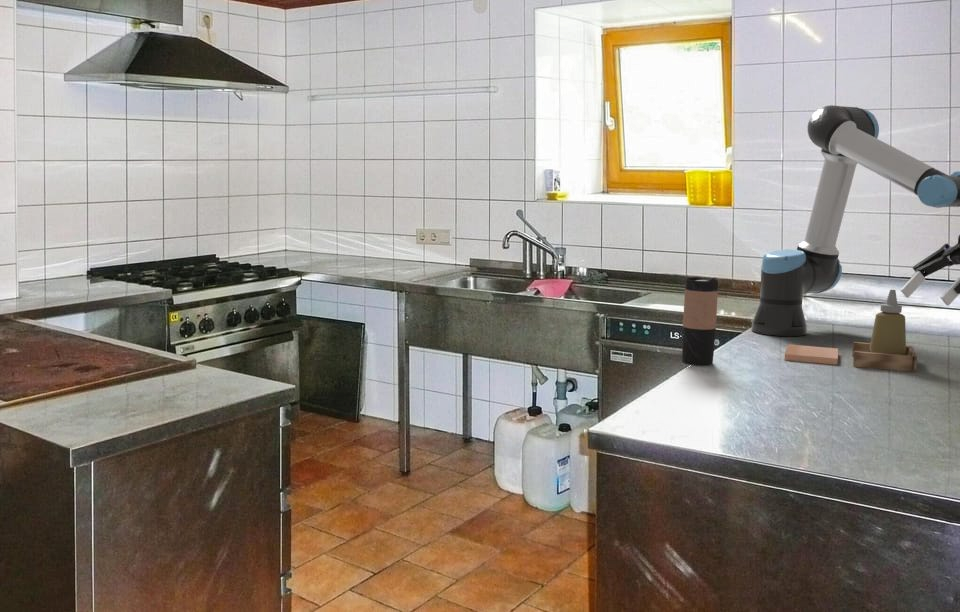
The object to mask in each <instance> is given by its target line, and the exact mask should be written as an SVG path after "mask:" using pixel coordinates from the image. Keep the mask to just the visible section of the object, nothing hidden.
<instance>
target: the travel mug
mask: <svg viewBox="0 0 960 612" xmlns="http://www.w3.org/2000/svg"><path fill="white" fill-rule="evenodd" d="M684 284H685V287H684V300H683V302H684V303H683V317H682V340H681V341H682V346H681V349H682V351H681V352H682V353H681V356H682V357H681V362H682V363H683V364H686V365H690V366H699V367H700V366H706V367H707V366H711V365H713V362H714V356H715V355H714V354H715V342H716V331H717V316H718V315H717V314H718V312H717V311H718V296H719V295H718V294H719V293H718V292H719V279H716V278H710V279H709V280H705V279H703V278H702V277H686V278H685V283H684Z"/></svg>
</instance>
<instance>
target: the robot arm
mask: <svg viewBox="0 0 960 612" xmlns="http://www.w3.org/2000/svg"><path fill="white" fill-rule="evenodd" d="M879 126H880V124H879V121H878V119H876V116H875V114H873V113H872V112H871V111H869V110H868V109H864V108H860V107H858V106H856V107H855V106H846V105H845V106H842V105H832V104H831V105H825V106H823V107H820V108H819V109H818V110H817V109H816V110H815V111H814V112H813V114H812V115H811V116H810V118H809V121H808V123H807V134H808V137H809V140H810V142H812V143H813V144H814V145H815V146H817V147H818V148H820V149H821V150H820V153H821V154H822V156H823V158H824V162H823V165H822V169H821V173H820V178H819V182H818V185H817V190H816V193H815V197H814V201H813V205H812V209H811V213H810V216H809V217H810V218H809V222H808V226H807V229H806V233H805V238H804V240H803V241H801V242H799V243H798V244H797V247H796V249H778V250H771V251H768V252H766V253H765V254H763V257H762V261H761V262H762V263H761V266H760V269H761V270H760V276H761V277H760V288H759V289H760V290H759V291H760V292H759V305H758V307H757V309H756V311H755V314H754V316H753V320H752V322H751V331H752V332H754V333H758V334H762V335H768V336H769V335H770V336H779V337H798V336H800V337H801V336H805V335H807V332H808V331H807V330H808V325H807V321H806V318H805V313H804V310H803V297H804V295H807V294H808V295H809V294H821V293H824V292H828V291H830V290H831V289H833V288H835V287H836V286H837V284H838V283H839V282H840V280H841V277H842V273H843V266H842V265H841V261H840V259H839V256H840V251H839V250H838V248H837V241H838V236H839V233H840V230H841V229H840V228H841V226H842V225H841V224H842V222H843V217H844V214H845V209H846V205H847V202H848V198H849V195H850V191H851V187H852V185H853V184H852V183H853V179H854V175H855V171H856V167H857V165H860V166H862V167H864V168H866V169H867V170H870V171H871V172H873V173H875V174H877V175H879V176H881V177H882V178H884V179H886V180H888V181H889V182H892V183H893V184H895V185H897V186H899V187H900V188H902V189H905V190H907V191H908V192H910V193H912V194H914V195H915V196H917V197H918V199H919V201H920V202H921V203H922V204H923V205H925V206H927V207H932V208H937V209H939V208H952V207H953V208H956V207H957V208H960V170H959V171H958V170H957V171H954V172H953V173H949V174H947V173H945V172H942V171H940V170H938V169H936V168H935V167H933V166H931V165H929V164H927V163H925V162H923V161H922V160H919V159H917V158H916V157H913V156H911V155H910V154H908V153H906V152H904V151H902V150H901V149H898V148H896V147H894V146H892V145H890V144H888V143H886V142H885V141H882V140H881V139H878V137H879V133H880V127H879ZM957 237H958V238H957V243H956V244H955V245H953V246H951V245H949V243H945V244H943V245H942V246H941V247H940V248H939V249H937V250H936V251H934V252H933V253H931V254H930V255H928V256H926V257H925V258H923V259H922V260H920V261H919V262H918V263H916V264H914V265H913V266H912V269H913V271H914V273H913V274H912V276H911V277H910V278H909V279H908V281H907V282H906V283H905V284H904V285H903V286H902V287H901V289H899V291H900V292H901V293H902V294H903V295H904V297H905V298H908V299H909V298H910V297H911V295H913V293H914V292H915V291H916V290H917V289H918V288H919V287H920V286H921V285H922V284H923V283H924V281H926V277H928V276H929V275H932V274H933V273H935V272H938V271H939V270H942V269H944V268H946V267H952V266H955V265H956V266H958V265H960V234H959V235H958V236H957ZM948 257H949V258H948ZM959 295H960V277H957V278H956V279H955V280H954V281H953V283H952V284H950V286H949V287H948V288H947V289H946V290H945V292H943V293H942V295H941V296H940V297H939V298H940V299H941V300H942V302H943V303H944V304H945V305H946V306H950V305H951V304H952V303H953V302H954V301H955V299H956V298H957V297H958V296H959Z"/></svg>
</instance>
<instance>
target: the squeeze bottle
mask: <svg viewBox="0 0 960 612" xmlns="http://www.w3.org/2000/svg"><path fill="white" fill-rule="evenodd" d="M897 299H898V298H897V292H896V289H889V292H888V295H887V298H886V301H885V303H881V304H880V311H881V312H880V311H879V312H877V314H875V318H874V321H873V322H874V323H873V329H872V333H871V338H870V339H871V340H870V342H869V343H870V351H871V352H872V353H884V354H896V355H904V354H905V351H906V346H907V344H906V343H907V340H906V339H907V338H906V316H905V314H902V311H903V305H901V304H898V300H897Z"/></svg>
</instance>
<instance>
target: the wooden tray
mask: <svg viewBox="0 0 960 612" xmlns="http://www.w3.org/2000/svg"><path fill="white" fill-rule="evenodd" d="M870 343H871V342H860V341H853V348H852V357H853V360H852V361H853V363H852V366H853V367H857V368H867V369H880V370H891V371H900V372H901V371H903V372H912V373H916V372H917V366H918V365H917V364H918V356H917V352H916V351H915V349H914V346H912V345H911V346H909V345H906V351H905V354H904V355H896V354H884V353H872V352H871V351H870Z"/></svg>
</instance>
